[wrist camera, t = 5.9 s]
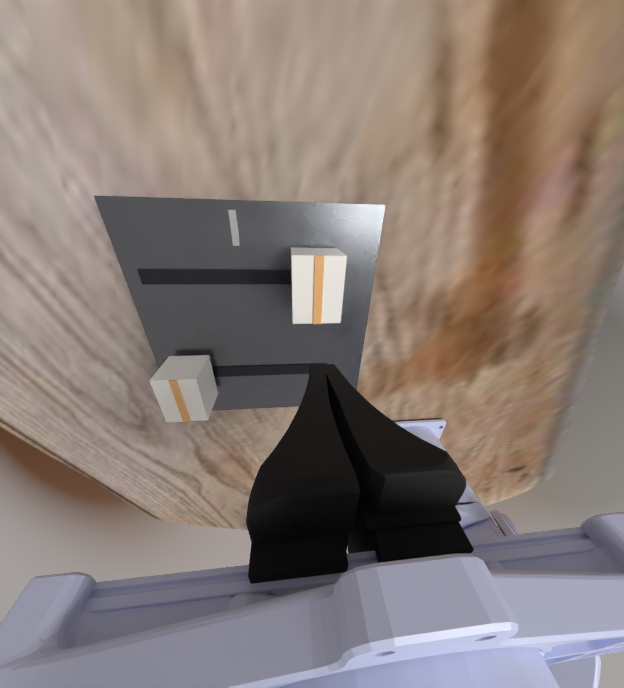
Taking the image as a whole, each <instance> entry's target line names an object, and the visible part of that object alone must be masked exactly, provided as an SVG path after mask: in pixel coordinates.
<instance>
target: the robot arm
mask: <svg viewBox="0 0 624 688" xmlns="http://www.w3.org/2000/svg"><path fill="white" fill-rule="evenodd" d="M445 425H446V422H445V420H443V419H436V420H418V421H400V422H393V421H392V420H391V419H389V418H388V417H386V416H385V415H384V414H382V413H381V412H380V411H378V410H377V409H376V408H375V407H374V406H372V405H371V404H370V403H369V402H368V401H367V400H366V399H365V398H364V397H363V396H362V395H361V394H360V393H359V392H358V391H357V390H356V389H355V388H354V387H353V386H352V385H351V384H350V383H349V381H348V380H347V379H346V378H345V377H344V376H343V374H342V373H341V372H340V371H339V369H338V368H337V367H336V365H335V364H325V365H311V366H310V367H309V379H308V383H307V387H306V390H305V394H304V396H303V399H302V402H301V404H300V406H299V409H298V411H297V413H296V415H295V417H294V419H293V421H292V423H291V424H290V426H289V428H288V430H287V431H286V433H285V434H284V436H283V437H282V439H281V440H280V442H279V443H278V445H277V446H276V448H275V449H274V450H273V452H272V453H271V454H270V455H269V457H268V458H267V459H266V460H265V462H264V463H263V464H262V465H261V467H260V469H259V471H258V474H257V476H256V479H255V482H254V484H253V487H252V490H251V494H250V498H249V502H248V510H247V517H246V524H247V528H248V531H249V535H250V538H251V542H252V545H251V553H250V563H249V565H244V566H235V567H226V568H217V569H209V570H200V571H191V572H182V573H173V574H165V575H156V576H148V577H138V578H130V579H121V580H112V581H104V582H96V581H95V580H94V578H93V577H92V576H90V575H88V574H86V573H80V572H72V573H63V574H54V575H45V576H36V577H35V578H33V579H31V580H30V581H29V583H28V585H27V586H26V587H25V589H24V590H23V592H22V593H21V594H20V596H19V597H18V599H17V600H16V602H15V603H14V605H13V606H12V607H11V609H10V610H9V612H8V613H7V614H6V616H5V618H4V619H3V620H2V622H1V623H0V688H598V685H599V677H600V671H601V660H600V657H599V655H602V654H608V653H613V652H618V651H624V512H617V513H608V514H600V515H596V516H593V517H591V518H589V519H587V520H586V521H585V522H583V523H582V524H581V527H576V528H567V529H560V530H550V531H542V532H533V533H524V534H521V532H520V531H519V529H518V528H517V527H516V525H515V524H514V523H513V522H512V520H511V519H510V518H509V517H508V516H507V515H505V514H503V513H499V512H498V511H497V510H494V511H491V512H490V513H491V514H492V516H493V518H494V519H495V521H496V522H497V524H498V526H499V528H500V529H499V528H498V526H497V525H496V524H495V522H494V521H493V519H492V518H491V516H490V515H489V513H488V512H487V510H486V509H485V507H484V506H483V504H482V502H480V501H479V500H478V499H477V497H476V496H475V494H474V492H473V491H472V489H471V488H470V486H469V485H468V483H467V482H466V479H465V477H464V476H463V474H462V473H461V471H460V470H459V468H458V466H457V465H456V463H455V462H454V461H453V459H452V458H451V457H450V455H449V454H448V453H447V451H446V450H445V448H444V447H443V445H442V444H441V442H440V441H439V438H440V436H441V434H442V431H443V429H444V427H445ZM500 530H501V531H502V533H503V534H504V535H503V534H502V533H501V531H500ZM347 545H348V552H349V554H347V553H346V550H347Z"/></svg>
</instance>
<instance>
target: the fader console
mask: <svg viewBox="0 0 624 688" xmlns="http://www.w3.org/2000/svg"><path fill="white" fill-rule="evenodd" d="M94 197H95V200H96V203H97V205H98V208H99V211H100V213H101V216H102V218H103V221H104V224H105V226H106V229H107V232H108V234H109V237H110V240H111V242H112V245H113V248H114V250H115V253H116V256H117V258H118V261H119V263H120V266H121V269H122V271H123V274H124V277H125V279H126V282H127V285H128V287H129V290H130V293H131V295H132V298H133V301H134V303H135V306H136V308H137V311H138V314H139V316H140V319H141V322H142V324H143V327H144V330H145V332H146V335H147V338H148V340H149V343H150V346H151V348H152V351H153V353H154V356H155V359H156V361H157V364H158V367H159V368H160V367H161V366H162V364H163V363H164V362H165V361H166V359H167V358H168V357H169V356H194V355H209V357H210V361H211V365H212V370H213V374H214V378H215V382H216V386H217V391H218V395H217V398H216V400H215V403H214V406H213V408H212V410H231V409H251V408H272V407H293V406H300V404H301V402H302V399H303V396H304V394H305V390H306V387H307V383H308V379H309V367H310V366H311V365H325V364H335V365H336V367H337V368H338V369H339V371H340V372H341V373H342V374H343V376H344V377H345V378H346V379H347V380H348V381H349V383H350V384H351V385H352V386H353V387H354V388H355V389H356V388H357V382H358V376H359V369H360V363H361V357H362V350H363V344H364V338H365V331H366V325H367V319H368V312H369V306H370V300H371V293H372V287H373V281H374V274H375V268H376V262H377V255H378V249H379V243H380V236H381V230H382V224H383V217H384V211H385V205H369V204H338V203H306V202H275V201H244V200H212V199H181V198H149V197H118V196H94ZM291 247H298V248H337V249H339V250H340V251H341V252H343V253H344V254H345V255H347V261H346V272H345V282H344V293H343V303H342V314H341V323H321V324H293V317H292V280H291Z"/></svg>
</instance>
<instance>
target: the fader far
mask: <svg viewBox="0 0 624 688" xmlns="http://www.w3.org/2000/svg"><path fill="white" fill-rule="evenodd" d="M149 381H150V384H151V386H152V389H153V391H154V393H155V396H156V398H157V401H158V403H159V405H160V408H161V410H162V413H163V415H164V417H165V420H166V422H183V423H186V422H191V421H205V420H208V419H209V416H210V414H211V411H212V408H213V406H214V403H215V400H216V398H217V395H218V391H217V386H216V382H215V378H214V374H213V370H212V365H211V361H210V357H209V355H194V356H169V357H168V358H167V359H166V361H165V362H164V363H163V364H162V366H161V367H160V368H159V369H158V371H157V372H156V373H155V374H154V375H153V377H152V378H151V379H150V380H149Z"/></svg>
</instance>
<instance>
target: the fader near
mask: <svg viewBox="0 0 624 688" xmlns="http://www.w3.org/2000/svg"><path fill="white" fill-rule="evenodd" d="M346 261H347V255H345V254H344V253H343V252H341V251H340V250H339V249H337V248H298V247H291V280H292V317H293V324H321V323H341V314H342V303H343V293H344V282H345V272H346Z"/></svg>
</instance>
